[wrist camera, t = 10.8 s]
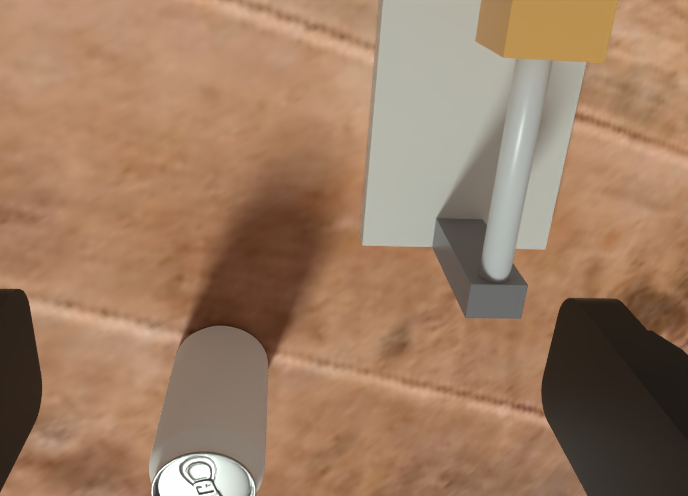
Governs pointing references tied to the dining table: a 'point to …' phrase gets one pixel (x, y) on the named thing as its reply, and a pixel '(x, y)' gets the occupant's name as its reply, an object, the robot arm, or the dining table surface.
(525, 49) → the sleeve
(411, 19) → the cable stand
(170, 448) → the can
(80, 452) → the dining table surface
